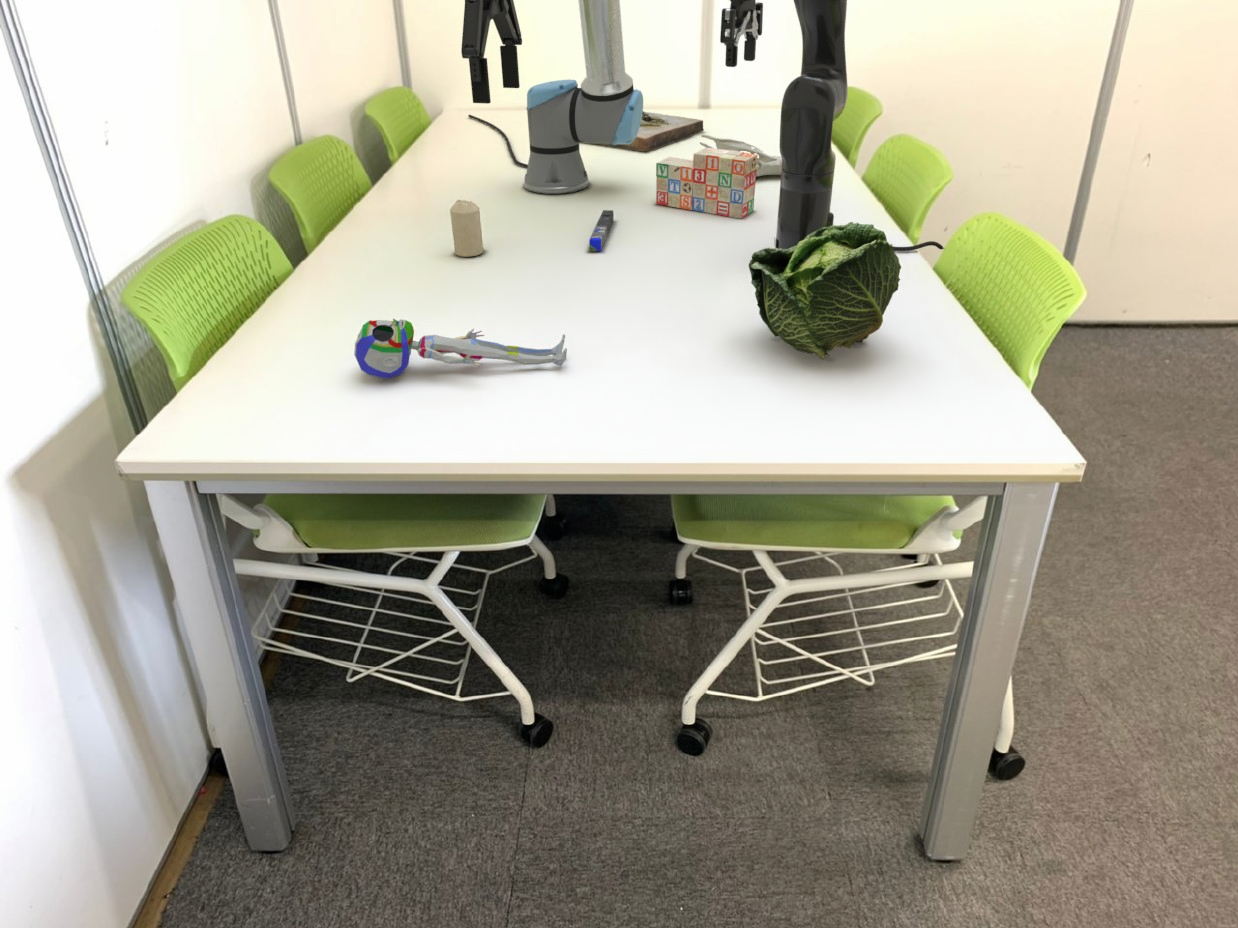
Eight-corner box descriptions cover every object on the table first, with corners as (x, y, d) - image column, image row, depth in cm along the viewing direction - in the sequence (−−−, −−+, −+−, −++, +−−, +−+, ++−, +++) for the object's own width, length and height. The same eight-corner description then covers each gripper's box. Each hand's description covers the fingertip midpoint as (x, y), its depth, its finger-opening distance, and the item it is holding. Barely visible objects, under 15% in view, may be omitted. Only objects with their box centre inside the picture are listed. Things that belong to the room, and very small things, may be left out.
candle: (488, 249, 176) (483, 198, 171) (475, 258, 172) (470, 206, 167) (463, 246, 178) (457, 196, 173) (450, 255, 174) (443, 204, 168)
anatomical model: (702, 130, 224) (803, 129, 220) (702, 168, 229) (801, 167, 225) (697, 145, 212) (805, 144, 208) (697, 184, 216) (802, 184, 213)
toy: (569, 347, 126) (349, 329, 122) (563, 400, 131) (350, 385, 126) (565, 318, 135) (359, 301, 130) (559, 369, 139) (360, 354, 134)
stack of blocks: (655, 205, 201) (655, 148, 194) (668, 198, 205) (669, 142, 199) (742, 219, 191) (745, 159, 185) (754, 211, 196) (758, 153, 189)
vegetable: (778, 371, 145) (721, 264, 137) (874, 304, 146) (823, 195, 138) (839, 398, 127) (777, 277, 119) (948, 321, 128) (894, 197, 120)
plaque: (647, 125, 237) (559, 112, 252) (647, 153, 241) (560, 139, 256) (706, 107, 258) (622, 97, 273) (705, 133, 262) (622, 121, 277)
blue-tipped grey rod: (613, 210, 190) (600, 241, 173) (613, 220, 191) (600, 251, 174) (603, 210, 190) (589, 240, 173) (603, 220, 191) (589, 251, 174)
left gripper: (477, -50, 125) (491, 110, 137) (534, -58, 146) (542, 82, 157) (427, -49, 127) (445, 109, 138) (491, -57, 147) (502, 81, 159)
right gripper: (746, -26, 164) (742, 70, 172) (777, -31, 174) (772, 59, 183) (709, -26, 167) (707, 68, 176) (742, -32, 177) (738, 57, 186)
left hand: (497, 95), depth 148 cm, fingers open, 13 cm apart
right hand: (740, 63), depth 179 cm, fingers open, 8 cm apart
